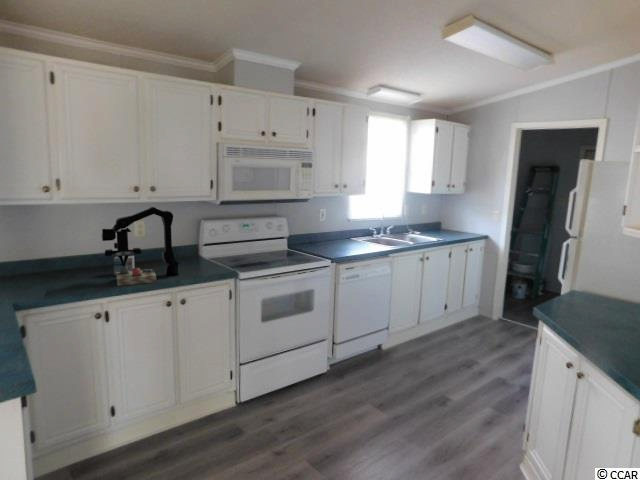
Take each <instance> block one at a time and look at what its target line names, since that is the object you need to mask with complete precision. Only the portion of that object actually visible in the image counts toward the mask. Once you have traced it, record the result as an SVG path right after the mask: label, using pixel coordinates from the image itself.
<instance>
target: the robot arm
mask: <svg viewBox="0 0 640 480" xmlns="http://www.w3.org/2000/svg"><path fill="white" fill-rule="evenodd" d="M152 215H156V216H158V217H160V218H161V222H162V225H163V239H164V250H163V251H160V252H161V259H162V261H164V262H165V264H166V267H165V275H166V276H167V277H172V276H173V277H175V276H179V264H180V263H179V262H178V261H177V260H176V258H175V255H174V250H173V246H172V244H173V243H172V241H173V240H172V224H173V220H174V214H173V213H172V211H169V210H161V209H158V208H157V207H155V206H152V207H148V208H146V209H144V210H141V211H139V212H136V213H134V214H132V215H128V216H122V217H118V218H116V220H115V224H114V226H113V227H112V228H102V229H101V240H102V242H108V241H109V242H110V241H114V240H115V239H116V242H114V243H113V248H114V250H113V249H112V248H109V249H105V250H104V256H105V257H111V256H113V255H116V256H115V257H119V258H120V260H121V262H122V265H123V266H125V264H126V261H127V259H128V256H132V255H131V254H132V253H133V254H134V255H141V254H142V249H141V247H133V248H132V249H129V233H132V230H131V229H130V228H129V226H131V225H132V224H133V223H135V222H138V221H140V220H142V219H144V218H147V217H150V216H152ZM115 249H116V250H115ZM123 254H124V255H123ZM122 256H124V262H123V258H122Z"/></svg>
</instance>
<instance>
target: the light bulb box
mask: <svg viewBox="0 0 640 480" xmlns="http://www.w3.org/2000/svg"><path fill="white" fill-rule="evenodd" d="M122 258H123V262H124V255H122ZM121 266H123V265H122V262H121V260H120V258H119V257H116V256H115V257H114V258H113V271H114V273H113V275H114V276H116V272H120V267H121ZM125 266H128V271H132V269H133V268H136V267H135V255H131V256H128V259H127V261H126V264H125Z"/></svg>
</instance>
